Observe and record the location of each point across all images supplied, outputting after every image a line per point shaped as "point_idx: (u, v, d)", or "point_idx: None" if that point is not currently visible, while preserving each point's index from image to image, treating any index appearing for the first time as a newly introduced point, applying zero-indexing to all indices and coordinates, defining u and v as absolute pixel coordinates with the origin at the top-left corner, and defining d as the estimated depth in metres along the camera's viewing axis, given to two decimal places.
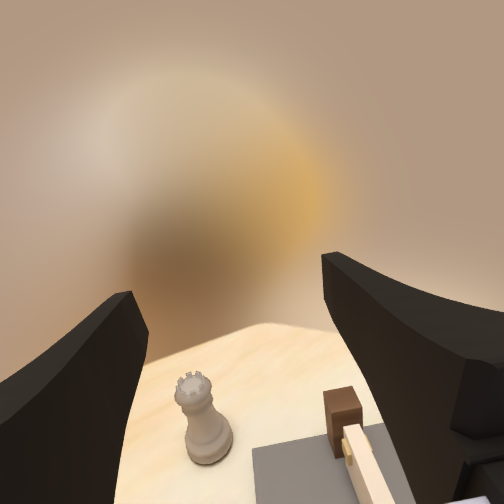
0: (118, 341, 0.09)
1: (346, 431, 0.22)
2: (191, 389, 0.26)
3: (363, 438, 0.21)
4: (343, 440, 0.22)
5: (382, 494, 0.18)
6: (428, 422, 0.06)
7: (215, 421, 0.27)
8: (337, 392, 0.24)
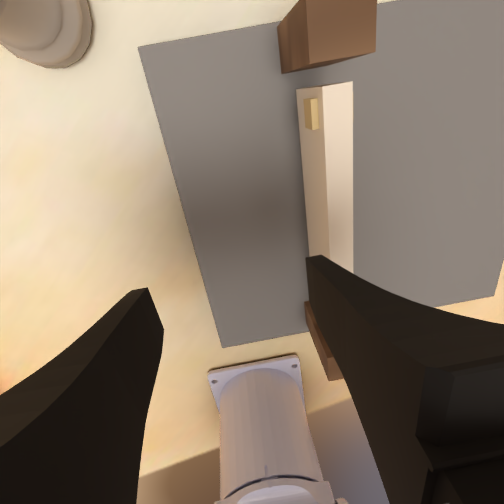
0: (137, 338, 0.09)
1: (325, 97, 0.12)
2: None
3: (349, 113, 0.12)
4: (311, 103, 0.13)
5: (342, 196, 0.14)
6: (398, 428, 0.06)
7: (38, 6, 0.12)
8: None
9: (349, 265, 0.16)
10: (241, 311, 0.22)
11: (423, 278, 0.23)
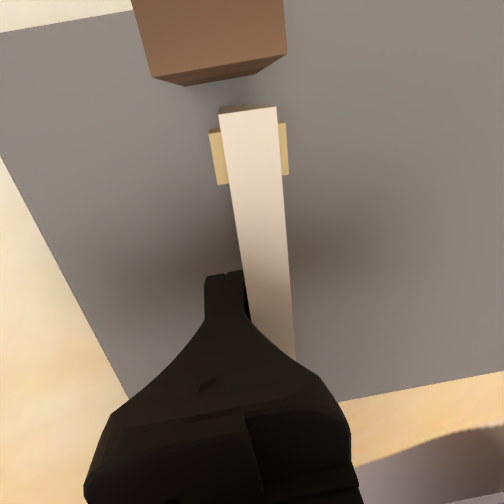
0: (249, 317, 0.10)
1: (226, 134, 0.06)
2: None
3: (273, 162, 0.07)
4: (211, 140, 0.07)
5: (273, 292, 0.08)
6: None
7: None
8: None
9: None
10: None
11: (411, 353, 0.17)
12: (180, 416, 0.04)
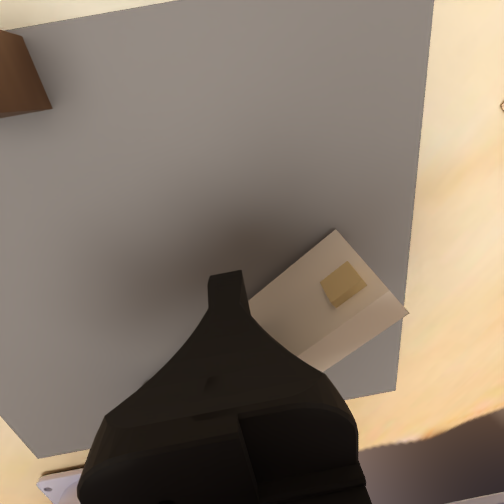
0: None
1: (379, 300, 0.09)
2: None
3: (375, 331, 0.09)
4: (359, 283, 0.09)
5: None
6: None
7: None
8: None
9: None
10: (47, 419, 0.17)
11: None
12: (173, 417, 0.04)
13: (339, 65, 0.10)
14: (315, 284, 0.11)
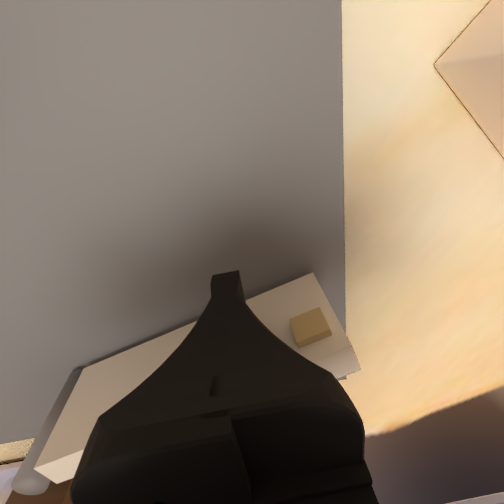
0: None
1: (340, 352, 0.10)
2: None
3: None
4: (326, 331, 0.10)
5: None
6: None
7: None
8: None
9: None
10: None
11: None
12: (167, 418, 0.04)
13: (242, 12, 0.09)
14: (283, 319, 0.12)
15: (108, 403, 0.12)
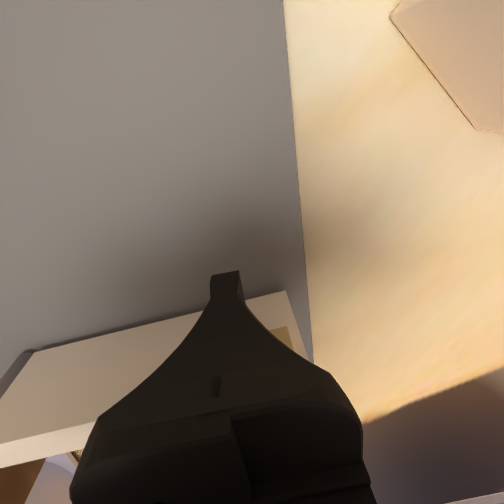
0: None
1: None
2: None
3: None
4: None
5: None
6: None
7: None
8: None
9: (80, 445, 0.10)
10: None
11: None
12: (166, 418, 0.04)
13: None
14: None
15: (55, 393, 0.11)
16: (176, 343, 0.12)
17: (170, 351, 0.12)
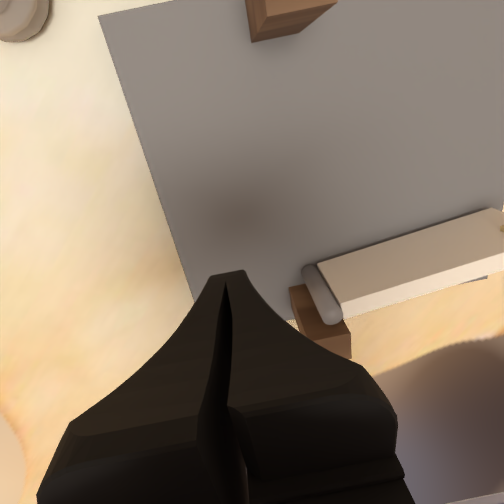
0: (229, 321, 0.10)
1: None
2: None
3: None
4: None
5: (473, 272, 0.17)
6: None
7: None
8: None
9: (406, 297, 0.17)
10: None
11: None
12: (134, 425, 0.04)
13: None
14: (489, 229, 0.18)
15: (371, 274, 0.18)
16: (435, 242, 0.19)
17: (436, 245, 0.18)
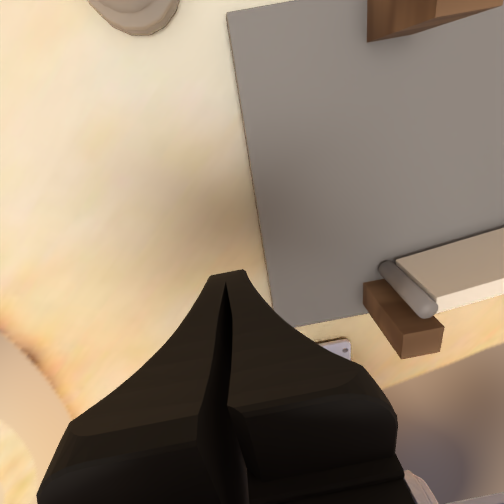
0: (229, 321, 0.09)
1: None
2: None
3: None
4: None
5: None
6: None
7: None
8: None
9: (499, 292, 0.17)
10: (300, 292, 0.22)
11: None
12: (134, 425, 0.04)
13: None
14: None
15: (459, 270, 0.18)
16: None
17: None
